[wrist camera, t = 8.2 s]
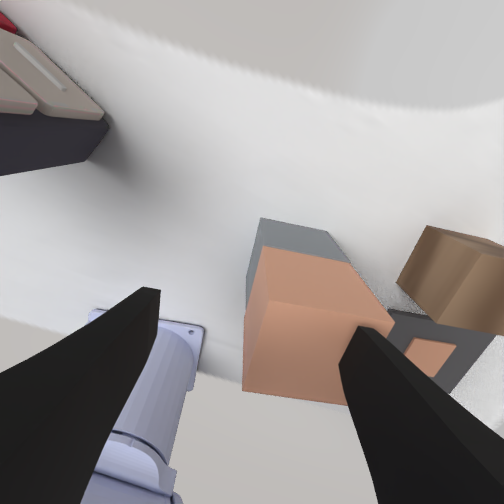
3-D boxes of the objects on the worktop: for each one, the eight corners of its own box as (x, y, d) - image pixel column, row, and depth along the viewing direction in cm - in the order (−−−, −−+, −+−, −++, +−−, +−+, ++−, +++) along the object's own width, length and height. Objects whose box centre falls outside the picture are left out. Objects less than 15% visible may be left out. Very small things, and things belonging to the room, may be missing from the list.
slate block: (246, 276, 20) (245, 316, 16) (260, 217, 18) (264, 244, 14) (306, 287, 21) (321, 329, 16) (326, 230, 19) (350, 261, 14)
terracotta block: (244, 317, 16) (242, 390, 11) (262, 245, 14) (269, 300, 9) (320, 330, 16) (347, 406, 12) (349, 263, 14) (395, 322, 10)
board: (353, 373, 25) (356, 381, 24) (388, 308, 22) (393, 314, 21) (445, 388, 26) (451, 395, 25) (492, 327, 23) (500, 334, 22)
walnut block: (395, 282, 21) (436, 323, 16) (425, 224, 19) (481, 253, 14) (450, 293, 21) (505, 336, 17) (486, 238, 19) (558, 270, 15)
